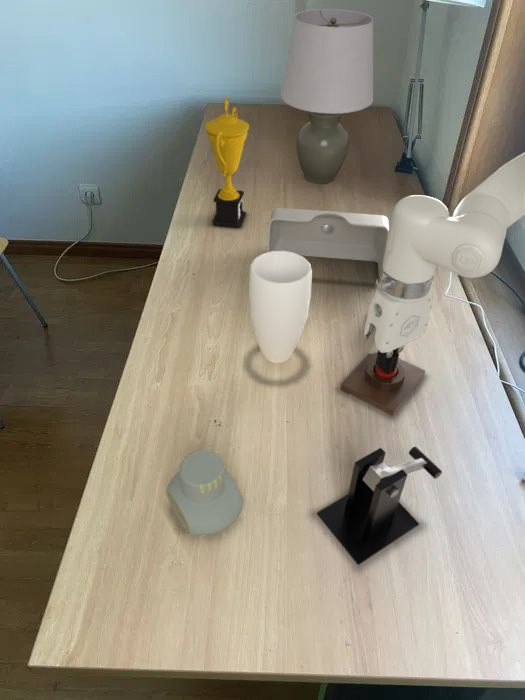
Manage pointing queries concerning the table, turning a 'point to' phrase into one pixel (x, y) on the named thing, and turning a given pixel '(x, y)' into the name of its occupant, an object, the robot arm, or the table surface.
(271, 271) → the cup
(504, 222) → the robot arm
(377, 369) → the button
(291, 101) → the lamp
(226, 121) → the trophy
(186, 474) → the air freshener
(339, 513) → the black stand
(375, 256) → the tank
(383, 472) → the lever
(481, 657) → the table surface
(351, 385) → the button block
